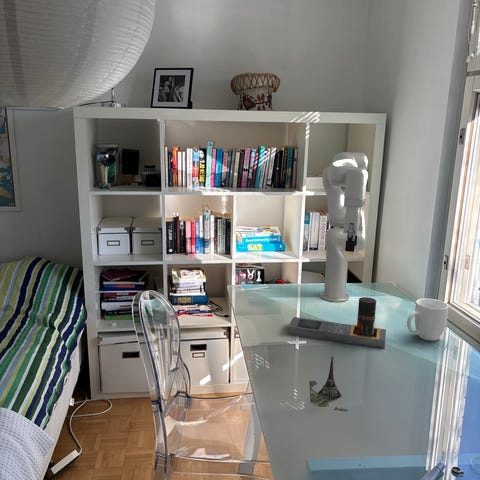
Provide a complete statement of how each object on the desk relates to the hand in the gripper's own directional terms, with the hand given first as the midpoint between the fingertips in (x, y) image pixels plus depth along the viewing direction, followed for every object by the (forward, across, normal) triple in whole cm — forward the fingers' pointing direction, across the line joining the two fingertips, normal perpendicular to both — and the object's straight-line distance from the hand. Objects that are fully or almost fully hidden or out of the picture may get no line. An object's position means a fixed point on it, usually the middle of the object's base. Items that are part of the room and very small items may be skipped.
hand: (351, 248), depth 180 cm
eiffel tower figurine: (+31, +54, +1) cm, 62 cm away
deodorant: (+31, +12, +8) cm, 34 cm away
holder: (+30, +12, -2) cm, 33 cm away
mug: (+31, +2, +29) cm, 42 cm away
